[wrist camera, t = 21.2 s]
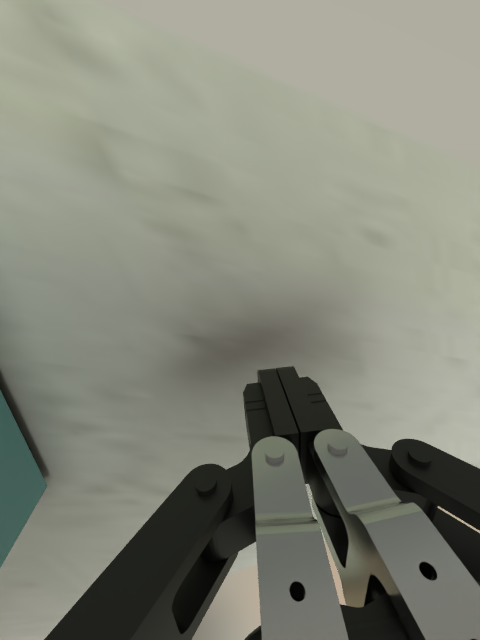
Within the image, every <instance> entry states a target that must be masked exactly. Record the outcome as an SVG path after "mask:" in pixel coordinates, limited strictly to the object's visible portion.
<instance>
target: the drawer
mask: <svg viewBox="0 0 480 640" xmlns="http://www.w3.org/2000/svg"><path fill="white" fill-rule="evenodd" d="M46 487H47V484H46V482H45V480H44V478H43V476H42V474H41V472H40V470H39V468H38V466H37V464H36V462H35V460H34V458H33V456H32V454H31V452H30V450H29V447H28V445H27V443H26V441H25V439H24V437H23V435H22V433H21V431H20V429H19V427H18V425H17V423H16V421H15V419H14V417H13V415H12V413H11V411H10V409H9V407H8V405H7V403H6V401H5V399H4V397H3V395H2V392H1V390H0V567H1V566H2V564H3V562H4V560H5V559H6V557H7V555H8V553H9V552H10V550H11V548H12V546H13V545H14V543H15V541H16V539H17V538H18V536H19V534H20V532H21V531H22V529H23V527H24V525H25V524H26V522H27V520H28V518H29V517H30V515H31V513H32V511H33V510H34V508H35V506H36V504H37V503H38V501H39V499H40V497H41V496H42V494H43V492H44V490H45V489H46Z"/></svg>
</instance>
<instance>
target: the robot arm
mask: <svg viewBox="0 0 480 640" xmlns="http://www.w3.org/2000/svg"><path fill="white" fill-rule="evenodd" d="M257 374H258V383H252V384H247V385H246V387H245V390H244V392H243V397H244V408H245V419H246V427H247V433H248V440H249V447H250V451H249V453H248V455H247V457H246V458H245V459H244V460H243V461H242V462H240V463H239V464H237V465H235V466H233V467H231V468H229V469H227V470H225V469H224V468H223V467H221V466H219V465H216V464H204V465H201V466H198V467H196V468H195V469H193V470H192V471H191V472H190V473H189V474H188V475H187V476H186V477H185V478H184V479H183V480H182V482H181V483H180V484H179V485H178V486H177V487H176V489H175V490H174V491H173V492H172V493H171V494H170V495H169V497H168V498H167V499H166V500H165V501H164V502H163V503H162V505H161V506H160V507H159V508H158V509H157V510H156V512H155V513H154V514H153V515H152V516H151V517H150V518H149V520H148V521H147V522H146V523H145V524H144V525H143V527H142V528H141V529H140V530H139V531H138V532H137V533H136V535H135V536H134V537H133V538H132V539H131V540H130V541H129V543H128V544H127V545H126V546H125V547H124V548H123V550H122V551H121V552H120V553H119V554H118V555H117V556H116V558H115V559H114V560H113V561H112V562H111V563H110V565H109V566H108V567H107V568H106V569H105V570H104V571H103V573H102V574H101V575H100V576H99V577H98V578H97V579H96V581H95V582H94V583H93V584H92V585H91V586H90V588H89V589H88V590H87V591H86V592H85V593H84V594H83V596H82V597H81V598H80V599H79V600H78V601H77V603H76V604H75V605H74V606H73V607H72V608H71V609H70V611H69V612H68V613H67V614H66V615H65V616H64V618H63V619H62V620H61V621H60V622H59V623H58V624H57V626H56V627H55V628H54V629H53V630H52V631H51V632H50V634H49V635H48V636H47V637H46V638H45V639H44V640H191V639H192V637H193V636H194V634H195V632H196V630H197V628H198V626H199V625H200V623H201V621H202V619H203V617H204V616H205V614H206V612H207V610H208V608H209V606H210V604H211V603H212V601H213V599H214V597H215V595H216V594H217V592H218V590H219V588H220V586H221V585H222V583H223V581H224V579H225V577H226V576H227V574H228V572H229V570H230V568H231V566H232V565H233V563H234V561H235V559H236V557H237V555H238V552H239V551H240V550H242V549H244V548H245V547H247V546H249V545H251V544H252V543H254V542H256V545H257V563H258V579H259V596H260V614H261V626H259V627H258V628H256V629H255V630H254V631H253V632H252V633H250V634H249V635H248V636H247V637H246V638H245V640H480V533H478V532H477V531H475V530H473V529H472V528H470V527H468V526H467V525H465V524H463V523H462V522H460V521H458V520H457V519H455V518H453V517H452V516H450V515H448V514H447V513H445V512H443V511H442V510H440V509H438V508H437V507H438V506H440V507H441V508H443V509H445V510H446V511H448V512H450V513H451V514H453V515H455V516H456V517H458V518H460V519H461V520H463V521H465V522H466V523H468V524H470V525H471V526H473V527H475V528H476V529H478V530H480V469H479V468H477V467H475V466H473V465H470V464H468V463H466V462H464V461H462V460H460V459H458V458H456V457H454V456H452V455H450V454H448V453H446V452H443V451H441V450H439V449H437V448H435V447H433V446H431V445H429V444H427V443H424V442H422V441H419V440H414V439H402V440H399V441H397V442H395V443H394V445H393V446H392V450H386V449H379V448H372V447H367V446H364V445H361V444H360V443H359V442H358V440H357V439H356V438H355V437H354V436H352V435H351V434H349V433H347V432H345V431H343V429H342V428H341V426H340V424H339V422H338V420H337V419H336V417H335V415H334V413H333V411H332V410H331V408H330V406H329V404H328V403H327V402H326V399H325V397H324V395H322V392H321V390H320V388H319V386H318V385H317V383H315V382H314V381H313V380H311V379H310V378H309V377H302V378H299V376H298V374H297V372H296V370H295V368H294V367H293V366H292V367H283V368H276V369H266V370H258V372H257ZM308 483H309V486H310V489H311V491H312V507H313V510H314V512H315V515H316V517H317V520H318V521H317V520H316V519H314V518H313V515H312V511H311V507H310V503H309V498H308V494H307V490H306V486H305V484H308ZM318 522H319V523H318ZM319 525H320V526H319ZM320 527H321V529H320ZM321 530H322V532H323V535H324V537H325V540H326V542H327V545H328V547H329V550H330V552H331V555H332V557H333V560H334V562H335V565H336V567H337V570H338V573H339V575H340V579H341V583H342V588H343V594H344V598H345V602H346V605H340V604H339V599H338V596H337V592H336V588H335V584H334V580H333V576H332V572H331V568H330V564H329V560H328V556H327V552H326V548H325V544H324V540H323V536H322V533H321Z"/></svg>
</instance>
